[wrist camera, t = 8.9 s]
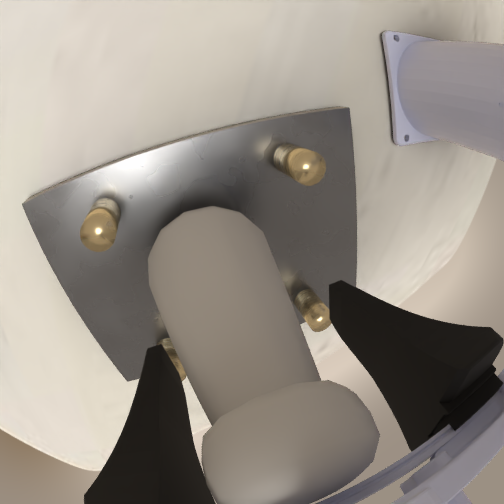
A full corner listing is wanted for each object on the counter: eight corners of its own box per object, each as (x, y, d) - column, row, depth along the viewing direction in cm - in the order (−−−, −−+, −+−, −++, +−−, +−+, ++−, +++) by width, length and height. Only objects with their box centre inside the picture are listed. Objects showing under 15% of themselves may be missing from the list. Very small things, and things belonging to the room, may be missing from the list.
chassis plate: (339, 106, 15) (378, 111, 12) (348, 293, 23) (373, 320, 20) (28, 198, 12) (2, 223, 9) (127, 371, 20) (128, 409, 17)
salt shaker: (247, 288, 18) (361, 490, 7) (150, 294, 16) (192, 540, 5) (259, 193, 15) (462, 389, 5) (146, 192, 14) (171, 498, 3)
